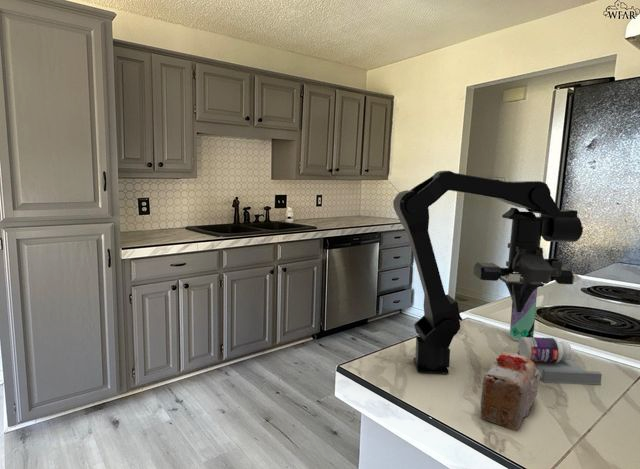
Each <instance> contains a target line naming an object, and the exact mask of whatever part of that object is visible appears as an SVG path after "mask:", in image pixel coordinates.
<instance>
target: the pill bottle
mask: <svg viewBox="0 0 640 469" xmlns="http://www.w3.org/2000/svg"><path fill="white" fill-rule="evenodd" d="M517 347H518V349H519V354H520V355H521V356H524V357H526V358H528V359H529V360H531V361H532V362H550V363H557V362H559V361H560V360H570V359H571V360H572V356H573V350H572V346H571V344H570V343H569V342H568V341H559V340H558V339H556V338H554V337H537V336H536V337H535V336H533V337H522V338H520V340H519V342H518V345H517Z"/></svg>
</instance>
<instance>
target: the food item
mask: <svg viewBox="0 0 640 469" xmlns="http://www.w3.org/2000/svg"><path fill="white" fill-rule="evenodd" d="M493 362H494V363H493V364H492V365H491V367H490V368H489V369H488V371H487V372H486V373H485V375H483V378H482V387H481V394H480V396H481V397H480V415H481V418H482V419H483V420H486V421H488V422H491V423H493V424H495V425H500V426H502V427H506V428H508V429H510V430H513V431H517V430H518V429H519V428H520V426H521V424H522V422H523V419H524V417H526V418H527V417H528V416H529V412H530V409H531V407H532V406H533V404H534V400H535V399H537V396H538V391H539V386H540V381H541V380H540V379H541V378H540V370H538V369H536V367H535V364H534V362H532V361H531V360H529V359H528V358H526V357H524V356H521V355H518V353H512V352H503V351H502V352H501V353H500V354H499V355H498V357H497V358H496V359H495V360H494V361H493Z"/></svg>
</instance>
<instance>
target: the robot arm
mask: <svg viewBox="0 0 640 469" xmlns="http://www.w3.org/2000/svg"><path fill="white" fill-rule="evenodd" d="M448 191H451V192H457V193H463V194H469V195H475V196H481V197H485V198H491V199H496V200H498V201H500V202H503V203H505V204H508V205H510V206H512V207H510V208H509V210H508V211H506V212H505V213H503V214H502V215H501V217H502V218H503V219H506V220H511V230H510V239H509V240H510V241H509V242H508V243H507V248H508V250H509V251H508V253H509V254H508V261H507V260H506V262H505V266H506V267H500V266H498V265H497V264H495V263H494V262H478V261H477V262H476V263H475V264H474V266H473V275H474V276H475V277H477V279H479V280H480V281H481V280H482V281H492V282H493V281H494V282H496V281H499V280H500V281H501V282H503V283H504V284H505V285H506V288H507V290H508V292H509V295H510V299H511V303H512V302H513V305H514V308H515V311H516V312H521V311H522V310H523V308H524V306H525V304H526V302H527V300H528V299H529V297H530V295H531V294H532V292H533V291H534V290H535V289H537V290H538V288H540V287H544V286H545V284H549V283H550V280H551V279H553V280H554V281H555V282H556V284H559V285H574V281H575V275H574V273H573V271H572V270H570V269H568V268H565V267H563V261H562V260H561V259H560V258H559V257H558V258H557V257H556V258H555V257H552V258H551V257H550V258H544V251H543V250H544V248H543V247H541V241H542V239H543V240H544V241H545V242H553V243H554V242H561V243H563V242H564V243H575V242H578V241H579V240H580V238H582V235H583V231H584V227H583V224H582V220H581V219H580V218H579V216H578V213H579V212H578V210H575V209H564V210H560V208H559V207H558V205H557V204H556V202H555V200H554V199H553V198H552V196H551V189H550V187H549V185H548V184H547V183H546V182H543V181H540V180H537V181H536V180H535V181H531V180H530V181H527V180H525V181H523V180H522V181H521V180H519V181H514V180H513V181H504V180H497V179H493V178H488V177H487V178H486V177H481V176H475V175H468V174H464V173H457V172H453V171H452V170H439V171H436V172H435V173H434V174H433V175H432V176H430V177H428V178H427V179H426V180H425V179H424V181H422V182H421V183H419V184H417V185H416V186H413V188H411V189H410V190H408V189H407V190H403V191H400V192H398V193H397V194H396V195H395V197H394V199H393V202H392V205H393V210H394V212H395V214H396V215H397V218H398V220H399V221H400V223H401V225H402V227H403V229H404V231H405V232H406V234H407V237H408V239H409V243H410V247H411V251H412V254H413V258H414V261H415V265H416V269H417V272H418V276H419V280H420V284H421V287H422V290H423V294H424V295H423V296H424V297H423V314H424V315H422V317H420V318H419V320H417V321H416V322H415V323H414V324H413V327H414V329H415V333H416V334H417V336H415V353H414V354H415V357H413V362H414V365H415V368H416V371H417V372H418V373H426V374H442V375H443V374H444V375H445V374H446V375H447V374H449V368H450V360H451V359H450V358H451V349H450V345H451V343H452V341H453V339H454V337H455V336H457V334H458V332H459V331H460V329H461V321H463V320H464V319H463V318H462V316H461V314H460V311H459V310H460V309H459V303H458V301H456V300H455V299H454V298H453V297H452V296H450V295H449V294H446V292H445V289H444V286H443V285H444V284H443V281H442V278H441V274H440V270H439V266H438V262H437V258H436V256H435V252H434V251H435V250H434V249H433V244H432V241H431V237H430V233H429V226H430V225H429V224H430V211H429V210H430V208H429V207H431V206H432V205H434V204H435V203H436V202H437V201H438V200H439V199H441V197H442V196H444V195H445V194H446V193H447V192H448ZM513 206H514V207H513ZM518 208H520V209H525V210H526V211H520V210H519V209H518ZM536 214H540V216H537V215H536ZM515 272H517V273H515ZM518 272H519V273H518ZM520 277H523V278H520Z"/></svg>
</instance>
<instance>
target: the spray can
mask: <svg viewBox="0 0 640 469" xmlns="http://www.w3.org/2000/svg"><path fill="white" fill-rule="evenodd" d="M514 273H517V272H514ZM518 273H519V272H518ZM520 278H523V277H520ZM537 296H538V288H537V289H535V290H534V291H533V292H532V294H531V295H530V297H529V299H528V300H527V302H526V304H525V306H524V308H523V310H522V311H521V312H516V311H515V308H514V305H513V302H512V301H511V316H510V326H509V338H510V339H511V340H513V341H516V342H518V343H519V340H520V338H522V337H534V332H535V320H536V311H537V310H536V309H537V299H538V298H537Z"/></svg>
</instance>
